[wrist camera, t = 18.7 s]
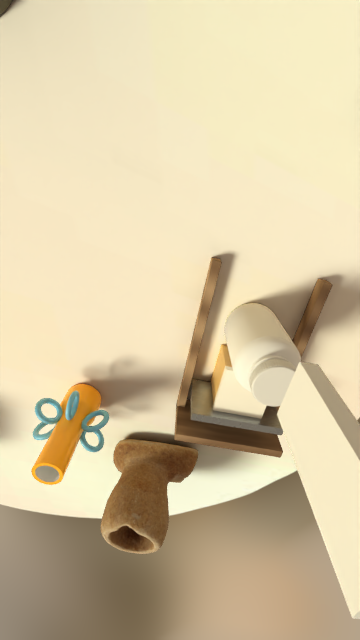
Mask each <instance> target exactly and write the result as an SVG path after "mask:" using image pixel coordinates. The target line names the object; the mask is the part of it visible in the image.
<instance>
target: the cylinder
mask: <svg viewBox="0 0 360 640" xmlns="http://www.w3.org/2000/svg"><path fill="white" fill-rule="evenodd" d="M45 403H48V404H51V405H53V406H54V407H55V408H56V410H57V416H56V417H55V418H47V417H45V416H44V415H43V414H42V412H41V406H42V405H43V404H45ZM100 405H101V395H100V393H99V392H98V391H97V390H96V389H95V388H94V387H92V386H90V385H87V384H77V385H74V386H72V387H71V388H70V389H69V390H68V392H67V394H66V395H65V397H64V399H63V401H62V402H61V404H59V403H58V402H57V401H55V400H53V399H50V398H44V399H41V400H40V401H38V402H37V404H36V406H35V413H36V415H37V417H38V418H39V419H40V420H41V421H42V422H41V423H40V424H39V425H38V426H37V427H36V428H35V429H34V431H33V437H34V438H35V439H36V440H44V439H47V438H49V439H48V441H47V442H46V444H45V446H44V448H43V450H42V452H41V453H40V455H39V457H38V459H37V461H36V463H35V464H34V466H33V468H32V475H33V477H34V478H35V479H36V480H37V481H39V482H41V483H44V484H49V485H53V484H57V483H59V482H61V480H62V479H63V476H64V474H65V472H66V469H67V467H68V465H69V462H70V460H71V458H72V455H73V453H74V451H75V448H76V446H77V444H78V442H79V439H80V441H81V444H82V445H83V447H84V448H85V449H86V450H88V451H90V452H97V451H99V450H100V449H101V448H102V447H103V445H104V438H103V435H102V433H101V431H100V430H99V429H101V428H102V427H104V426H105V425H106V423H107V422H108V420H109V414H108V412H106V411H105V410H99V407H100ZM97 415H103V416H104V419H103V420H102V421H101V422H100V423H99V424H97V425H95V426H89V425H91V424H92V423H93V421H94V419H95V417H96V416H97ZM55 423H56V425H55V427H54V428H53V429H52V430H51V431H49V432H48V433H46V434H42V435H39V434H38V433H39V431H40V430H41V429H42V428H43V427H44V426H45V425H47V424H55ZM86 432H94V433H95V434H96V435H97V436H98V438H99V444H98V446H96V447H93V446H91V445H89V444H88V443H87V441H86V439H85V434H86Z"/></svg>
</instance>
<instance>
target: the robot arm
mask: <svg viewBox="0 0 360 640" xmlns="http://www.w3.org/2000/svg"><path fill="white" fill-rule="evenodd" d="M12 1H13V0H0V15H1V14H2V13H3V12H4V11H5V10H6V9H7V8H8V7H9V5H10V4H11V2H12ZM277 416H278V419H279V421H280V424H281V427H282V429H283V432H284V435H285V438H286V440H287V443H288V446H289V448H290V451H291V454H292V456H293V459H294V462H295V464H296V467H297V470H298V472H299V475H300V478H301V481H302V483H303V486H304V489H305V491H306V494H307V497H308V499H309V502H310V505H311V507H312V510H313V513H314V516H315V518H316V521H317V524H318V526H319V529H320V532H321V535H322V537H323V540H324V543H325V545H326V548H327V551H328V553H329V556H330V559H331V562H332V564H333V567H334V570H335V572H336V575H337V578H338V580H339V583H340V586H341V589H342V591H343V594H344V596H345V599H346V602H347V605H348V607H349V610H350V613H351V615H352V618H355V619H360V424H359V423H358V421H357V420H356V418H355V417H354V416H353V414H352V413H351V411H350V410H349V408H348V407H347V405H346V404H345V403H344V401H343V400H342V398H341V397H340V395H339V394H338V393H337V391H336V390H335V388H334V387H333V385H332V384H331V382H330V381H329V380H328V378H327V377H326V375H325V374H324V372H323V371H322V369H321V368H320V367H319V365H316V364H311V363H305V362H299V364H298V366H297V369H296V371H295V373H294V376H293V378H292V380H291V383H290V385H289V387H288V390H287V392H286V394H285V397H284V399H283V401H282V403H281V406H280V408H279V410H278V413H277Z"/></svg>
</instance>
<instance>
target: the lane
mask: <svg viewBox="0 0 360 640" xmlns="http://www.w3.org/2000/svg"><path fill="white" fill-rule="evenodd" d="M221 263H222V262H221V260H220V259H218V258H213V257H212V258H211V262H210V266H209V270H208V274H207V279H206V283H205V287H204V291H203V295H202V299H201V304H200V308H199V312H198V316H197V320H196V325H195V329H194V333H193V337H192V341H191V345H190V350H189V354H188V358H187V362H186V366H185V370H184V375H183V379H182V383H181V387H180V391H179V396H178V400H177V405H176V421H175V438H174V440H178V441H184V442H190V443H196V444H202V445H208V446H215V447H221V448H227V449H233V450H239V451H245V452H251V453H257V454H263V455H269V456H275V457H281V455H282V453H283V450H282V447H281V445H280V442H279V439H278V436H277V434H271V433H266V432H260V431H254V430H248V429H242V428H236V427H230V426H224V425H218V424H213V423H207V422H201V421H195V420H191V400H187V396H188V392H189V388H190V384H191V380H192V376H193V372H194V368H195V364H196V361H197V357H198V353H199V349H200V345H201V341H202V337H203V333H204V329H205V325H206V321H207V318H208V314H209V310H210V306H211V302H212V298H213V294H214V290H215V286H216V282H217V278H218V275H219V271H220V267H221ZM331 287H332V284H331V283H330V282H328V281H327V280H323V279H318V280H317V282H316V285H315V287H314V290H313V292H312V295H311V297H310V300H309V302H308V305H307V307H306V310H305V312H304V314H303V317H302V319H301V322H300V324H299V327H298V329H297V332H296V334H295V337H294V339H293V343H294V344H295V346H296V348H297V349H298V351H299V353H300V356H301V357H302V354H303V352H304V350H305V347H306V345H307V343H308V340H309V338H310V336H311V333H312V331H313V329H314V326H315V324H316V322H317V319H318V317H319V315H320V313H321V310H322V308H323V306H324V303H325V301H326V299H327V296H328V294H329V292H330V289H331ZM279 407H280V406H276V408H277V411H278V410H279Z"/></svg>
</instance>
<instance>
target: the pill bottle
mask: <svg viewBox="0 0 360 640" xmlns="http://www.w3.org/2000/svg"><path fill="white" fill-rule="evenodd" d="M224 333H225V338H226V342H227V346H228V351H229V355H230V359H231V363H232V368H233V372H234V375H235V377H236V379H237V381H238V382H239V383H240V385H241V386H242V387H243V388H245V389H246V390H248V391H249V392H252V394H253V396H254V398H255V399H256V400H257V401H258V402H260V403H262V404H264V405H267V406H281V403H282V401H283V399H284V397H285V394H286V392H287V390H288V387H289V385H290V383H291V380H292V378H293V376H294V373H295V371H296V369H297V366H298V364H299V362H301V356H300V353H299V351H298V349H297V348H296V346H295V344H294V343H293V341H292V340H291V338H290V337H289V335H288V334H287V332H286V331H285V329H284V328H283V326H282V325H281V323H280V322H279V320H278V319H277V317H276V316H275V314H274V313H273V312H272V311H271V310H270V309H269V308H267V307H266V306H264V305H261V304H257V303H248V304H244V305H241V306H239V307H237V308H236V309H234V310H233V311H232V312H231V313H230V314H229V316H228V317H227V319H226V322H225V326H224Z"/></svg>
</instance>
